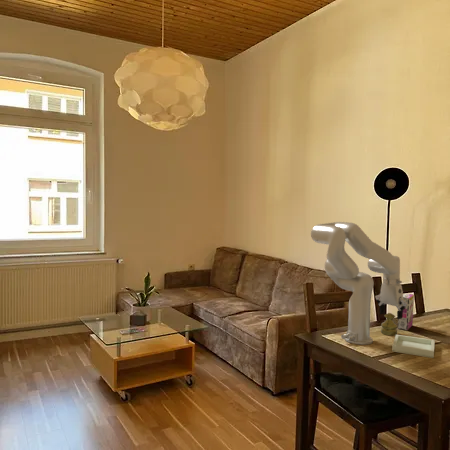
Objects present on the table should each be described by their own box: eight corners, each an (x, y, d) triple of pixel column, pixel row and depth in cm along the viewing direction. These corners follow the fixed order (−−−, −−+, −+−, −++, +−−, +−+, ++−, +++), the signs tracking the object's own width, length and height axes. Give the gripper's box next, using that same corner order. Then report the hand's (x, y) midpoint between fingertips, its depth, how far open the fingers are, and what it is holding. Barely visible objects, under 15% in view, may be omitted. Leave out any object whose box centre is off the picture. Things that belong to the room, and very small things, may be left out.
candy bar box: (408, 330, 213) (409, 298, 212) (397, 329, 216) (398, 296, 215) (413, 325, 222) (414, 294, 221) (403, 323, 225) (404, 292, 224)
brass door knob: (389, 336, 204) (389, 316, 203) (377, 332, 210) (378, 312, 210) (400, 334, 207) (401, 314, 206) (389, 330, 213) (389, 310, 213)
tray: (433, 358, 177) (433, 351, 177) (392, 351, 184) (392, 344, 184) (434, 346, 191) (434, 340, 191) (395, 340, 198) (396, 334, 198)
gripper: (412, 283, 202) (411, 318, 203) (381, 277, 216) (380, 310, 218) (402, 285, 198) (402, 321, 199) (371, 279, 212) (371, 313, 214)
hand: (390, 316), depth 208 cm, fingers open, 9 cm apart
